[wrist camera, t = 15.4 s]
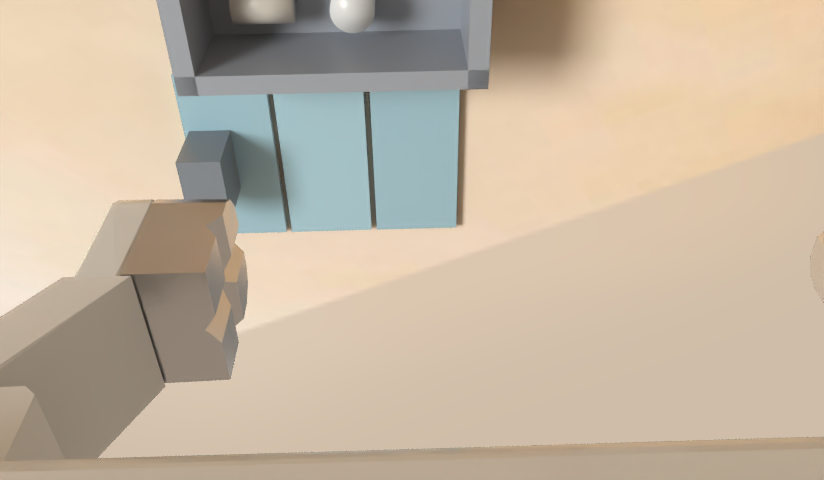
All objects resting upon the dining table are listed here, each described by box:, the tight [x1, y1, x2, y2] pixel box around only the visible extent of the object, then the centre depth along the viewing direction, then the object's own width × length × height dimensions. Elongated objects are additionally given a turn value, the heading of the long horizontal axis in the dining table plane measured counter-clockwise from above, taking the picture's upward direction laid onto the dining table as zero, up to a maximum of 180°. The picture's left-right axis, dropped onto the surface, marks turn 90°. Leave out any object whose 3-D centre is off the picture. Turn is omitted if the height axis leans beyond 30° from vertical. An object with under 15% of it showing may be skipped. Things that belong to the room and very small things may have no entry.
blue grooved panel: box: [171, 73, 460, 233], centre depth 44 cm, size 16×11×4 cm
